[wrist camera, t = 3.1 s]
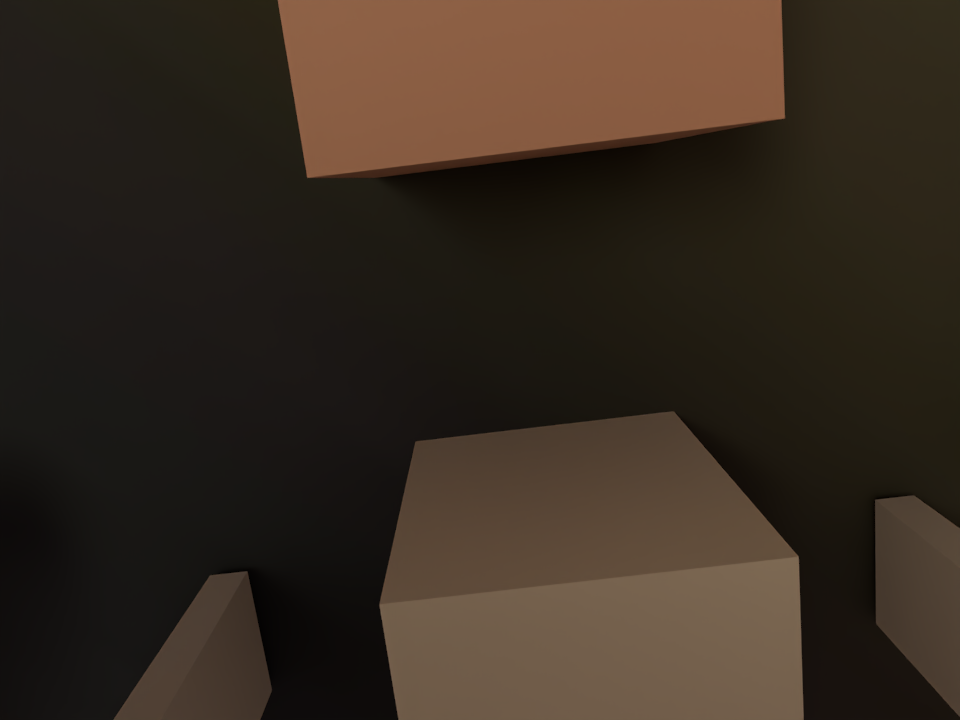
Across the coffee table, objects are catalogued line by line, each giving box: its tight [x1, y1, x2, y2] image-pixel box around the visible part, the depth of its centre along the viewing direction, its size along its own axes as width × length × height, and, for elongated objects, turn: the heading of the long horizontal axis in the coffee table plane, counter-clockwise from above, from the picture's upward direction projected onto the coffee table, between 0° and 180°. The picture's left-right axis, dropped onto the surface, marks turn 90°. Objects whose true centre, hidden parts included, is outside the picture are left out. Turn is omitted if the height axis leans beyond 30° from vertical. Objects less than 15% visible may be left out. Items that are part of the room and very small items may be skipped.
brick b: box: [379, 411, 804, 720], centre depth 13 cm, size 5×7×6 cm
